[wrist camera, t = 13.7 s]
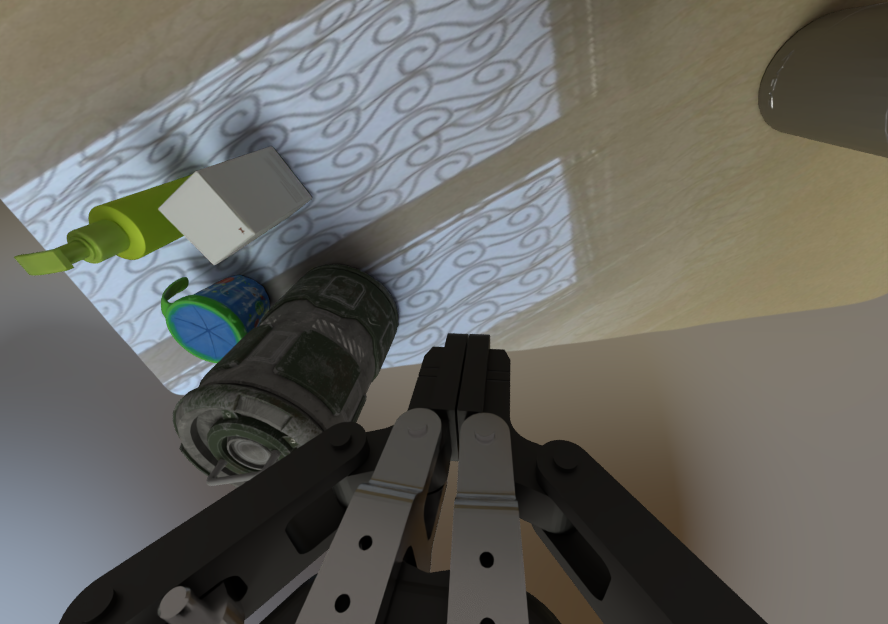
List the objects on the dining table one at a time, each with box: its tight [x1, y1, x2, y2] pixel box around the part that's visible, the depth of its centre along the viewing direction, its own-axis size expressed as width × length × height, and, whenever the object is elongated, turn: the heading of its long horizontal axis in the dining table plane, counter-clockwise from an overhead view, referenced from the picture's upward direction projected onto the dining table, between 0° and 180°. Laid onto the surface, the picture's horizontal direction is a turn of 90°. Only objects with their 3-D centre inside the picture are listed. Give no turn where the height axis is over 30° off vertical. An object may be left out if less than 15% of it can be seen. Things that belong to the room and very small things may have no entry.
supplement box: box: [158, 147, 312, 265], centre depth 41 cm, size 7×7×13 cm
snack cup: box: [161, 275, 270, 363], centre depth 52 cm, size 16×10×10 cm
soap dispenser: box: [14, 175, 191, 275], centre depth 40 cm, size 6×7×20 cm
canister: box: [173, 264, 398, 487], centre depth 43 cm, size 16×16×28 cm
